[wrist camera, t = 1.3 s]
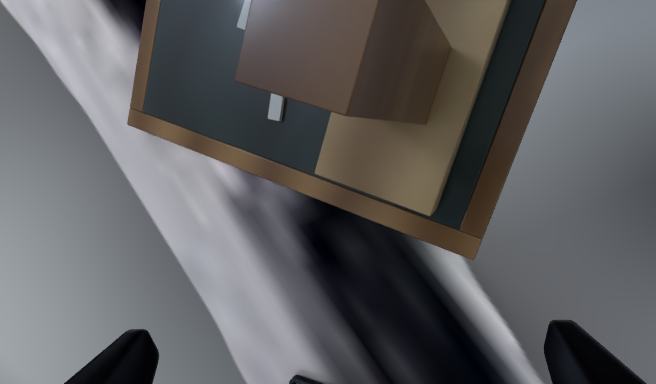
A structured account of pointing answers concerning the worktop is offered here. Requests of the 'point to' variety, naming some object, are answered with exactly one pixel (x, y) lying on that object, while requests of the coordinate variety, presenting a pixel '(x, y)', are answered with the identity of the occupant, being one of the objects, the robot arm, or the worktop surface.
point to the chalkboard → (311, 122)
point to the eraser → (379, 83)
